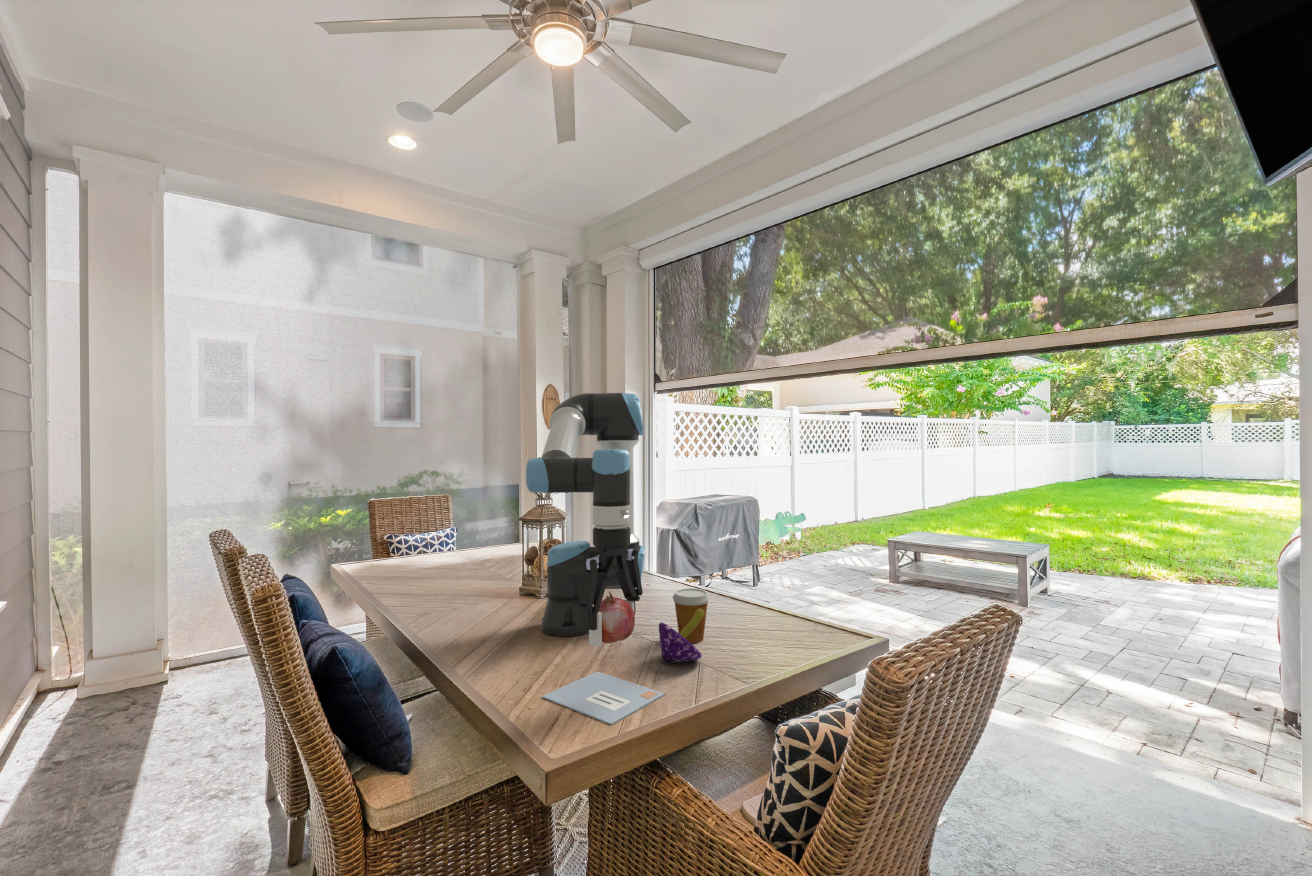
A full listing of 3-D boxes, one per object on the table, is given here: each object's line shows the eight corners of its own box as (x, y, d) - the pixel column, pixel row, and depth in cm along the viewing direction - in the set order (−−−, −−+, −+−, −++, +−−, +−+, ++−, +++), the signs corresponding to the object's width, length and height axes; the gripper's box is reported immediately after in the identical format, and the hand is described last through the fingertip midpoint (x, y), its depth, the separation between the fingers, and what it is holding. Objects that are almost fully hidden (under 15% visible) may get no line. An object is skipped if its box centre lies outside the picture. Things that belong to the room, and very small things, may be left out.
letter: (542, 697, 120) (542, 695, 120) (597, 672, 133) (597, 670, 133) (611, 725, 108) (611, 722, 108) (664, 694, 121) (664, 692, 121)
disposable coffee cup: (707, 646, 149) (707, 598, 149) (670, 643, 151) (669, 596, 151) (711, 633, 158) (711, 588, 158) (676, 631, 160) (676, 587, 160)
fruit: (614, 629, 126) (613, 582, 126) (645, 640, 119) (644, 590, 119) (579, 640, 119) (578, 590, 119) (609, 651, 112) (609, 598, 112)
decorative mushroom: (674, 589, 146) (635, 640, 141) (695, 596, 135) (655, 651, 130) (708, 621, 149) (672, 672, 144) (732, 630, 137) (694, 686, 132)
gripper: (586, 534, 108) (587, 658, 108) (659, 521, 125) (660, 628, 125) (558, 531, 113) (559, 650, 113) (632, 518, 130) (633, 622, 130)
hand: (612, 638), depth 119 cm, fingers closed on fruit, 9 cm apart
